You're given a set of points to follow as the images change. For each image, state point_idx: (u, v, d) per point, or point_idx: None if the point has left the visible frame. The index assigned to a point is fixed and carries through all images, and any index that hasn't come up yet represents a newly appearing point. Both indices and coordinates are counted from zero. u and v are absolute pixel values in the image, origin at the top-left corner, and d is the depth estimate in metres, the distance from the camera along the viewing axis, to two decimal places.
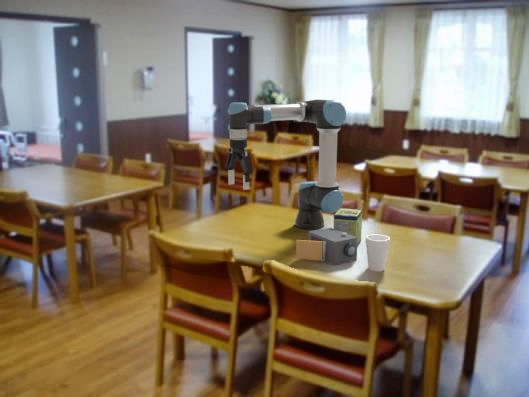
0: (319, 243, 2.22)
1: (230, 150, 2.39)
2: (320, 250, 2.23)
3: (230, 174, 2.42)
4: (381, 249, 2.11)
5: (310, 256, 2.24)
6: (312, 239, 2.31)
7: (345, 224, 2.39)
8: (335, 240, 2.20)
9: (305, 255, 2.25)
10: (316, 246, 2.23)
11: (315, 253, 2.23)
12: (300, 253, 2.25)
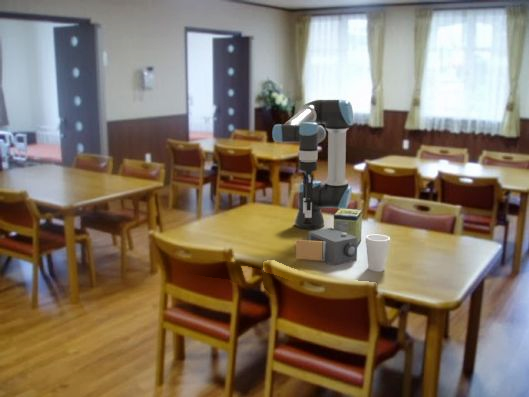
0: (319, 243, 2.22)
1: (304, 174, 2.27)
2: (320, 250, 2.23)
3: (305, 202, 2.27)
4: (381, 249, 2.11)
5: (310, 256, 2.24)
6: (312, 239, 2.31)
7: (345, 224, 2.39)
8: (335, 240, 2.20)
9: (305, 255, 2.25)
10: (316, 246, 2.23)
11: (315, 253, 2.23)
12: (300, 253, 2.25)
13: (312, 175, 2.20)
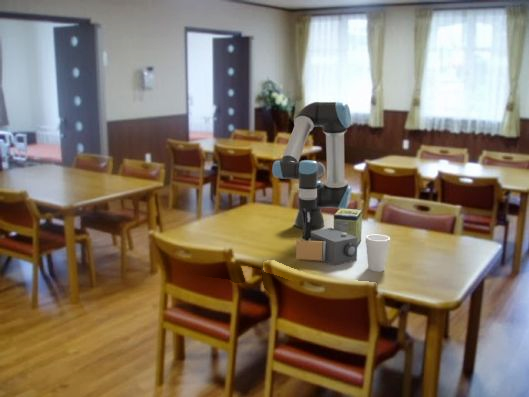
0: (319, 243, 2.22)
1: None
2: (320, 250, 2.23)
3: None
4: (381, 249, 2.11)
5: (310, 256, 2.24)
6: (312, 239, 2.31)
7: (345, 224, 2.39)
8: (335, 240, 2.20)
9: (305, 255, 2.25)
10: (316, 246, 2.23)
11: (315, 253, 2.23)
12: (300, 253, 2.25)
13: (311, 213, 2.23)
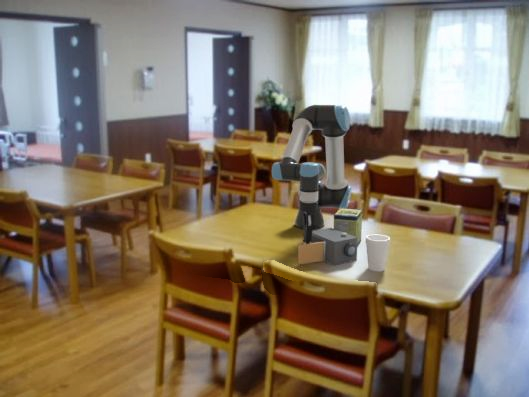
0: (320, 244, 2.21)
1: None
2: (321, 251, 2.22)
3: None
4: (381, 249, 2.11)
5: (312, 258, 2.21)
6: (312, 239, 2.31)
7: (345, 224, 2.39)
8: (335, 240, 2.20)
9: (307, 259, 2.20)
10: (317, 247, 2.21)
11: (317, 255, 2.21)
12: (303, 258, 2.19)
13: (312, 216, 2.18)
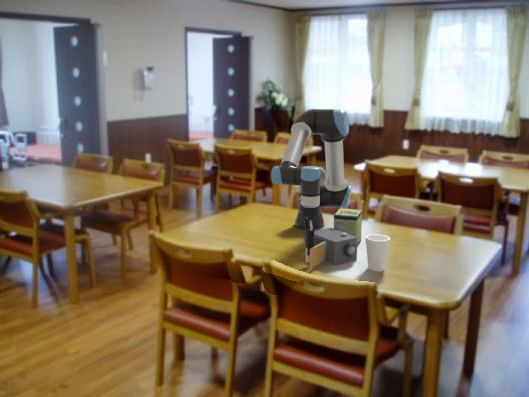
0: (323, 244, 2.20)
1: None
2: (323, 251, 2.21)
3: None
4: (381, 249, 2.11)
5: (318, 260, 2.19)
6: None
7: (345, 224, 2.39)
8: (335, 240, 2.20)
9: (316, 261, 2.17)
10: (321, 248, 2.20)
11: (321, 256, 2.20)
12: (313, 261, 2.15)
13: (314, 221, 2.14)
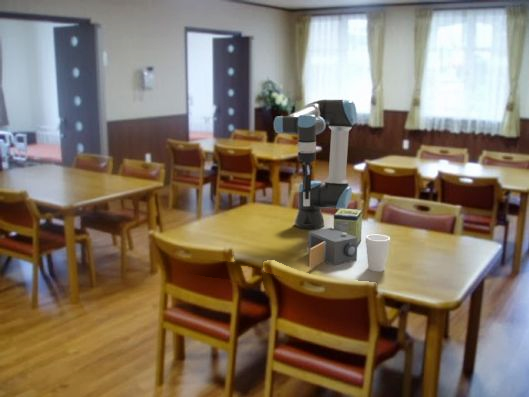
0: (322, 244, 2.20)
1: None
2: (323, 251, 2.21)
3: None
4: (381, 249, 2.11)
5: (318, 260, 2.19)
6: (312, 239, 2.31)
7: (345, 224, 2.39)
8: (335, 240, 2.20)
9: (316, 261, 2.17)
10: (321, 248, 2.20)
11: (320, 256, 2.20)
12: (313, 261, 2.15)
13: (311, 166, 2.27)
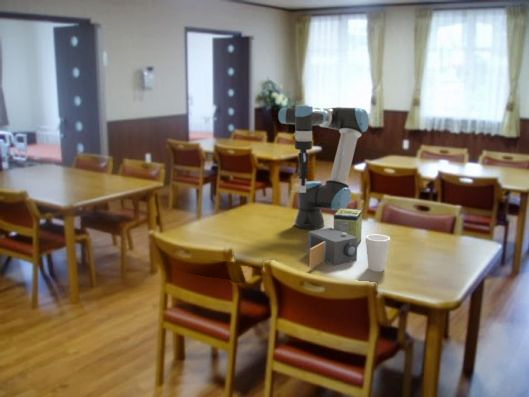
0: (322, 244, 2.20)
1: None
2: (323, 251, 2.21)
3: None
4: (381, 249, 2.11)
5: (318, 260, 2.19)
6: (312, 239, 2.31)
7: (345, 224, 2.39)
8: (335, 240, 2.20)
9: (316, 261, 2.17)
10: (321, 248, 2.20)
11: (320, 256, 2.20)
12: (313, 261, 2.15)
13: (307, 154, 2.39)
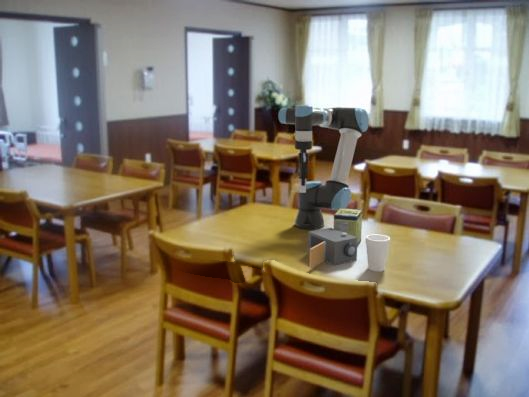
0: (322, 244, 2.20)
1: None
2: (323, 251, 2.21)
3: None
4: (381, 249, 2.11)
5: (318, 260, 2.19)
6: (312, 239, 2.31)
7: (345, 224, 2.39)
8: (335, 240, 2.20)
9: (316, 261, 2.17)
10: (321, 248, 2.20)
11: (320, 256, 2.20)
12: (313, 261, 2.15)
13: (307, 154, 2.39)
